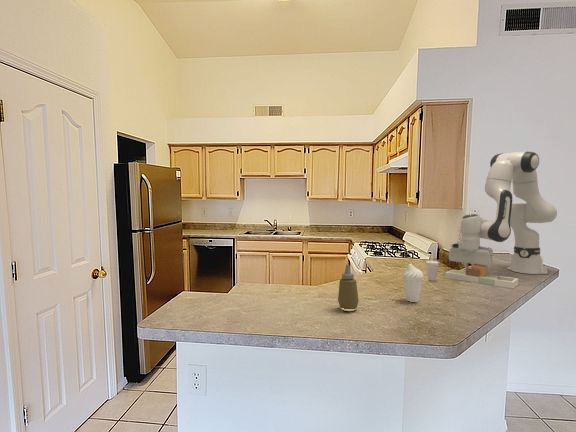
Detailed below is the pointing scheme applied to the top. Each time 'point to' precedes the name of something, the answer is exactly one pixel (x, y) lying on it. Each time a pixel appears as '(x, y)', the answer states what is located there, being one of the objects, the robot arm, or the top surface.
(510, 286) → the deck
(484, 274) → the block
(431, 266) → the smoothie
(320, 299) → the top surface
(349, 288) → the squeeze bottle
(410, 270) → the soft serve ice cream cone
